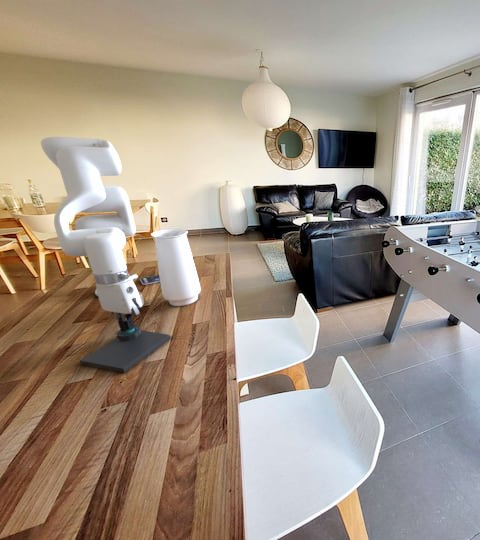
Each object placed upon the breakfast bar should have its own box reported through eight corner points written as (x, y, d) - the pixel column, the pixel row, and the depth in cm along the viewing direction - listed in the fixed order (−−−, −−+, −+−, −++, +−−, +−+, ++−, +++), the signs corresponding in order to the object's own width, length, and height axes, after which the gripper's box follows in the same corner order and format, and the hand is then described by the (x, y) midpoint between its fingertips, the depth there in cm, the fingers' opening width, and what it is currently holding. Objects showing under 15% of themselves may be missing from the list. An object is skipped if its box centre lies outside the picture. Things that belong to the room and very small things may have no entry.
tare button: (129, 330, 92) (128, 326, 91) (137, 331, 91) (136, 327, 91) (120, 335, 89) (119, 331, 89) (129, 336, 89) (127, 332, 88)
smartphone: (139, 278, 130) (177, 271, 139) (139, 279, 130) (177, 272, 140) (142, 284, 125) (181, 276, 134) (143, 285, 125) (181, 277, 135)
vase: (207, 293, 121) (196, 229, 111) (192, 308, 109) (178, 238, 99) (176, 292, 121) (162, 227, 110) (157, 307, 109) (139, 236, 98)
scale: (131, 332, 94) (129, 324, 93) (170, 338, 92) (168, 330, 91) (79, 364, 80) (76, 355, 78) (124, 372, 78) (121, 363, 76)
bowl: (133, 301, 112) (131, 290, 111) (149, 303, 112) (146, 293, 110) (117, 309, 106) (114, 298, 105) (133, 312, 105) (130, 301, 104)
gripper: (145, 274, 85) (159, 326, 92) (102, 268, 87) (119, 320, 94) (122, 284, 78) (138, 340, 85) (76, 278, 80) (95, 333, 87)
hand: (128, 329), depth 90 cm, fingers closed
